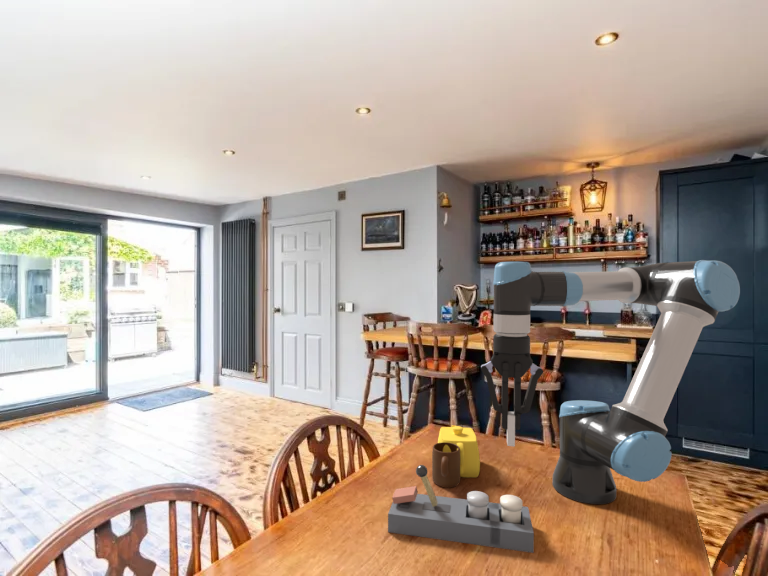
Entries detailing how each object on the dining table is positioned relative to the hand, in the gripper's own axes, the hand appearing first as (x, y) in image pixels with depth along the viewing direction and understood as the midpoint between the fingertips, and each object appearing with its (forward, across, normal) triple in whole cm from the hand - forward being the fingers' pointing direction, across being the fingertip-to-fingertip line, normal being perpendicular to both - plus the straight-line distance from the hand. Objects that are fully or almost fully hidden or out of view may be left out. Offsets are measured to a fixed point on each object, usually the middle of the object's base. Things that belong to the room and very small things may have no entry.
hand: (510, 443), depth 88 cm
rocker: (+14, +23, 0) cm, 27 cm away
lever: (+16, +16, 0) cm, 22 cm away
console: (+20, +11, 0) cm, 23 cm away
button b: (+17, +7, 0) cm, 18 cm away
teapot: (+20, +13, -32) cm, 40 cm away
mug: (+20, +15, -19) cm, 31 cm away
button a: (+17, 0, 0) cm, 17 cm away
